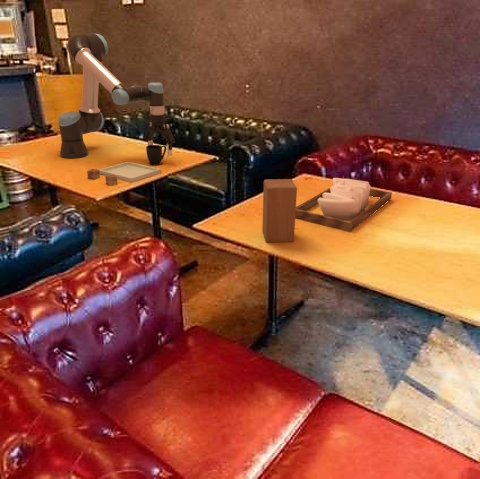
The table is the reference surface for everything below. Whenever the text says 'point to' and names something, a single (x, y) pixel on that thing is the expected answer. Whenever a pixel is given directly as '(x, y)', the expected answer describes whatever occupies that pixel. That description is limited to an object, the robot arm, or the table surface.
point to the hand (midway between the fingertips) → (160, 154)
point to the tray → (130, 171)
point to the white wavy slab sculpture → (345, 199)
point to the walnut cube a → (93, 174)
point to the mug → (155, 154)
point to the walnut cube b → (111, 179)
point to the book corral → (338, 223)
